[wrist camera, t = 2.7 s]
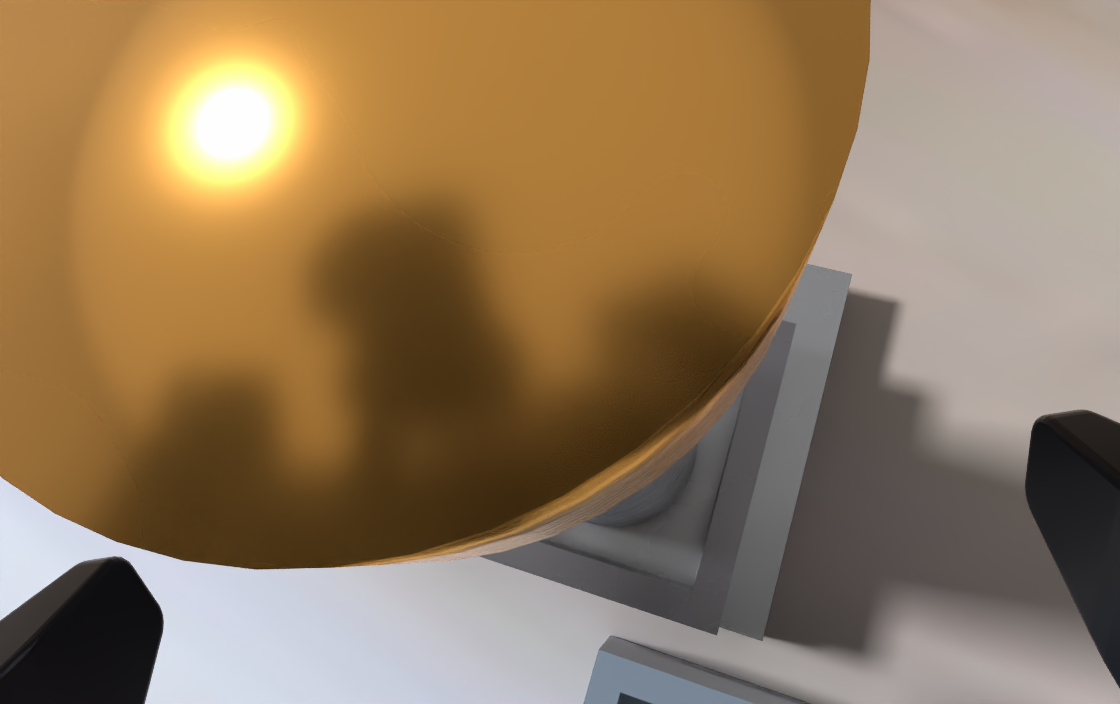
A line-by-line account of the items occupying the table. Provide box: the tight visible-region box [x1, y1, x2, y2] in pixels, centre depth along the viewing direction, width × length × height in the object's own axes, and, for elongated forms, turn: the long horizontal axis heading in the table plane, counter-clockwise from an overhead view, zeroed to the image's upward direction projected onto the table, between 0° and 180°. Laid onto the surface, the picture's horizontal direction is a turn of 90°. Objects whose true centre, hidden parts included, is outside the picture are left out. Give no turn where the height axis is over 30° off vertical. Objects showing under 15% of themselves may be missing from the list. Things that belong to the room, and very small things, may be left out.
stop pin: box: [0, 0, 871, 569], centre depth 10 cm, size 5×5×14 cm
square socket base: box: [480, 264, 852, 641], centre depth 17 cm, size 9×8×3 cm
